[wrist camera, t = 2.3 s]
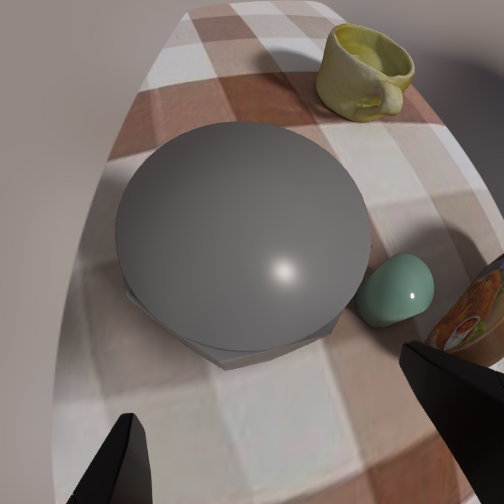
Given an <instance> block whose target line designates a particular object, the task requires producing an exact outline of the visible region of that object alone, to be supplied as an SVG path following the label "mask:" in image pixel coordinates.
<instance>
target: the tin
mask: <svg viewBox="0 0 504 504" xmlns="http://www.w3.org/2000/svg"><path fill="white" fill-rule="evenodd" d="M427 345H429V346H431V347H434V348H436V349H439V350H442V351H444V352H447V353H450V354H452V355H455V356H457V357H460V358H463V359H465V360H468V361H471V362H473V363H476V364H479V365H482V366H484V367H487V368H488V367H490V366H492V365H493V364H495V363H496V362H498V361H499V360H501V359H502V358H503V357H504V253H503V254H502V255H501V256H499V257H498V258H497V259H495V260H494V261H493V262H492V263H491V264H489V265H488V266H487V267H486V268H485V269H484V270H483V271H482V272H481V273H480V275H479V276H478V277H477V278H476V279H475V280H474V282H473V283H472V284H471V286H470V287H469V288H468V289H467V291H466V292H465V293H464V294H463V296H462V297H461V298H460V299H459V301H458V302H457V303H456V304H455V305H454V306H453V308H452V309H451V310H450V311H449V312H448V313H447V315H446V316H445V317H444V318H443V319H442V320H441V321H440V322H439V324H438V325H437V326H436V327H435V328H434V330H433V331H432V333H431V334H430V336H429V338H428V341H427Z"/></svg>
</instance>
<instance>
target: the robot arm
mask: <svg viewBox="0 0 504 504" xmlns="http://www.w3.org/2000/svg"><path fill="white" fill-rule="evenodd" d="M399 365H400V367H401V369H402V371H403V373H404V375H405V377H406V379H407V381H408V383H409V385H410V386H411V388H412V390H413V392H414V394H415V396H416V398H417V400H418V401H419V403H420V404H421V406H422V407H423V409H424V410H425V412H426V413H427V415H428V417H429V418H430V420H431V421H432V423H433V424H434V426H435V427H436V429H437V431H438V432H439V434H440V435H441V437H442V438H443V440H444V442H445V443H446V445H447V446H448V448H449V450H450V451H451V453H452V455H453V456H454V458H455V460H456V461H457V463H458V464H459V466H460V468H461V469H462V471H463V473H464V475H465V476H466V478H467V480H468V482H469V483H470V485H471V487H472V488H473V490H474V492H475V494H476V495H477V497H478V499H479V501H480V503H481V504H504V374H503V373H501V372H498V371H495V370H492V369H490V368H487V367H484V366H482V365H479V364H476V363H473V362H471V361H468V360H465V359H463V358H460V357H457V356H455V355H452V354H450V353H447V352H444V351H442V350H439V349H436V348H434V347H431V346H429V345H426V344H423V343H421V342H418V341H416V340H411V341H409V342H406V343H404V344H403V346H402V350H401V354H400V358H399ZM66 504H153V501H152V481H151V470H150V463H149V457H148V450H147V443H146V435H145V430H144V428H143V426H142V424H141V423H140V421H139V420H138V418H137V416H136V415H135V414H134V413H124V414H121V415H120V417H119V418H118V420H117V422H116V423H115V425H114V426H113V428H112V429H111V431H110V433H109V434H108V436H107V438H106V439H105V441H104V442H103V444H102V446H101V447H100V449H99V450H98V452H97V454H96V455H95V457H94V459H93V460H92V462H91V463H90V465H89V467H88V468H87V470H86V472H85V473H84V475H83V477H82V478H81V480H80V482H79V483H78V485H77V487H76V488H75V490H74V492H73V495H71V496H70V498H69V500H68V501H67V503H66Z"/></svg>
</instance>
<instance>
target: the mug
mask: <svg viewBox="0 0 504 504" xmlns="http://www.w3.org/2000/svg"><path fill="white" fill-rule="evenodd" d="M414 73H415V68H414V63H413V61H412V58H411V57H410V55H409V54H408V53H407V52H406V50H405V49H404V48H402V47H400V46H399V45H397V44H396V43H395V42H394V41H393V40H392V39H391V38H389V37H387V36H386V35H384V34H383V33H381V32H378V31H376V30H373V29H370V28H368V27H364V26H360V25H358V24H341V25H338V26H336V27H334V28H333V29H332V31H331V32H330V34H329V36H328V38H327V42H326V46H325V50H324V55H323V60H322V64H321V68H320V70H319V72H318V75H317V78H316V90H317V93H318V96H319V97H320V99H321V100H322V102H323V103H324V104H325V105H326V106H327V107H328V108H329V109H331V110H333V111H334V112H336V113H337V114H339V115H340V116H342V117H345V118H347V119H349V120H351V121H355V122H363V123H365V122H370V121H373V120H376V119H378V118H381V117H382V116H384V115H389V116H396V115H397V114H398V113H399V112H400V110H401V108H402V103H403V99H402V94H403V92H404V91H405V90H406V89H407V88H408V86H409V85H410V83H411V80H412V78H413V76H414Z"/></svg>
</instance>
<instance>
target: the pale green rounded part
mask: <svg viewBox="0 0 504 504" xmlns="http://www.w3.org/2000/svg"><path fill="white" fill-rule="evenodd" d="M433 296H434V281H433V277H432V275H431V272H430V270H429V269H428V267H427V266H426V264H425V263H424V262H423V261H422V260H421V259H419V258H418V257H416V256H414V255H412V254H408V253H399V254H396V255H394V256H393V257H391V258H390V259H389V260H388V261H386V262H385V263H384V264H383V265H382V266H381V267H379V268H378V269H377V270H376V271H375V272H373V273H372V274H371V275H370V276H368V277H367V278H366V279H365V280H364V281H362V282H361V284H360V286H359V287H358V289H357V291H356V295H355V305H356V309H357V311H358V314H359V315H360V317H361V318H362V320H363V321H364V322H366V323H367V324H368V325H370V326H372V327H376V328H385V327H388V326H390V325H393V324H395V323H398V322H400V321H403V320H405V319H407V318H410V317H412V316H414V315H417V314H419V313H421V312H423V311H425V310H426V309H427V308H428V307H429V305H430V304H431V302H432V299H433Z"/></svg>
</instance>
